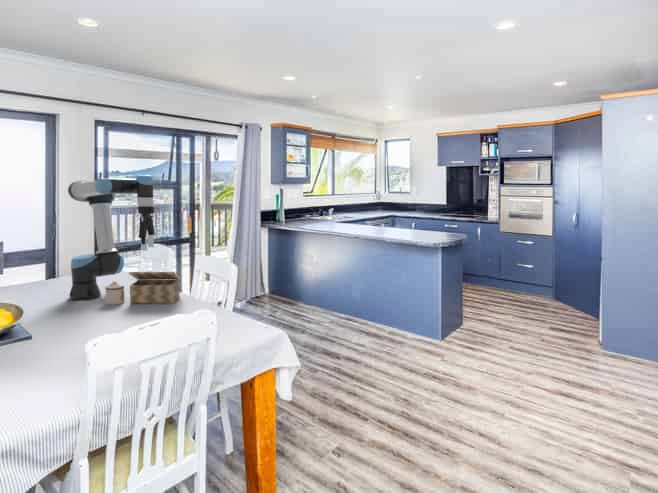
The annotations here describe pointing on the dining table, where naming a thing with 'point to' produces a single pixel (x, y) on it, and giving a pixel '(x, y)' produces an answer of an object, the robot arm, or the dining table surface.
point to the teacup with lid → (114, 293)
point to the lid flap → (154, 275)
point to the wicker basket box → (154, 291)
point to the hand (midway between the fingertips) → (147, 248)
